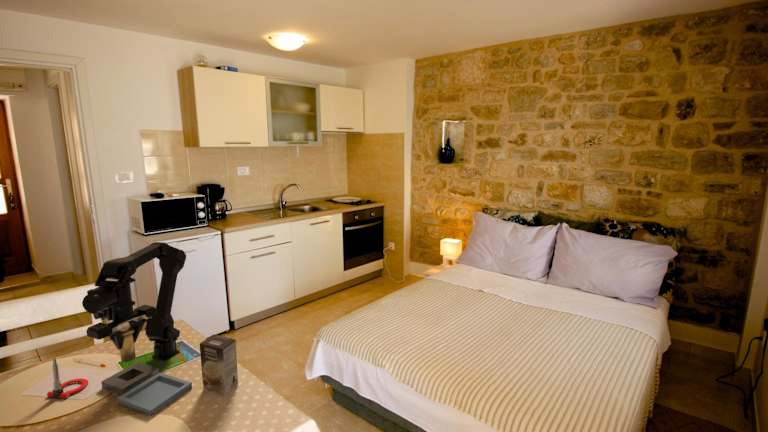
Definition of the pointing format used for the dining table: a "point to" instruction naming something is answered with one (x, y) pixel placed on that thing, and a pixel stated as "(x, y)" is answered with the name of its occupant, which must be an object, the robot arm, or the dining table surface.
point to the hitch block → (119, 382)
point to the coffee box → (219, 364)
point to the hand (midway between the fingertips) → (126, 345)
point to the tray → (154, 394)
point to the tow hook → (58, 386)
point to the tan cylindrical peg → (127, 344)
